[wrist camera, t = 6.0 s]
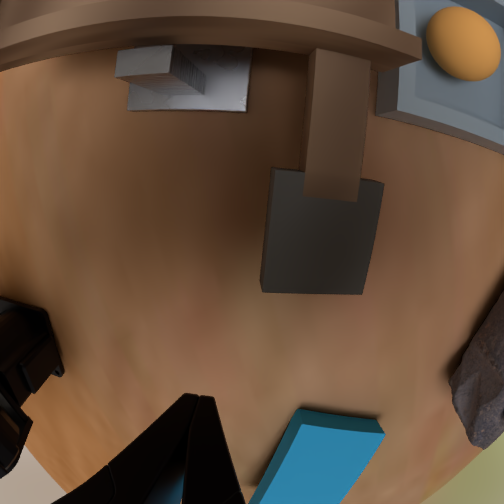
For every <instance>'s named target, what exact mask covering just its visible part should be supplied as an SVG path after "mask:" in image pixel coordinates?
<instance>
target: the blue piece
mask: <svg viewBox="0 0 504 504" xmlns="http://www.w3.org/2000/svg"><path fill="white" fill-rule="evenodd" d="M385 435H386V434H385V433H384V431H383V430H382V428H381V427H380V425H379V423H378V422H377V420H373V419H363V418H355V417H347V416H340V415H333V414H327V413H320V412H315V411H309V410H303V409H297V410H296V412H295V414H294V415H293V417H292V419H291V421H290V423H289V425H288V427H287V429H286V431H285V434H284V436H283V438H282V440H281V442H280V444H279V446H278V448H277V450H276V452H275V454H274V456H273V458H272V460H271V462H270V464H269V466H268V468H267V470H266V472H265V474H264V476H263V478H262V479H261V481H260V483H259V485H258V487H257V489H256V491H255V492H254V494H253V496H252V498H251V500H250V501H249V503H248V504H339V503H340V502H341V501H342V499H343V498H344V497H345V495H346V494H347V493H348V491H349V490H350V489H351V487H352V486H353V484H354V483H355V482H356V480H357V479H358V477H359V476H360V474H361V473H362V472H363V470H364V469H365V467H366V466H367V464H368V462H369V461H370V459H371V458H372V456H373V455H374V453H375V452H376V450H377V448H378V447H379V445H380V443H381V442H382V440H383V438H384V437H385Z"/></svg>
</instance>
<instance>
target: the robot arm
mask: <svg viewBox="0 0 504 504" xmlns="http://www.w3.org/2000/svg"><path fill="white" fill-rule="evenodd" d="M51 374H52V375H55V376H58V377H62V376H63V374H64V370H63V367H62V364H61V361H60V358H59V354H58V351H57V348H56V344H55V341H54V337H53V334H52V330H51V326H50V322H49V318H48V315H47V313H46V312H45V311H44V310H43V309H40V308H37V307H33V306H30V305H26V304H23V303H20V302H16V301H13V300H10V299H7V298H4V297H1V296H0V479H1V478H2V477H4V476H5V475H7V474H8V473H9V472H10V471H12V469H13V468H14V467H15V466H16V464H17V462H18V460H19V458H20V455H21V452H22V449H23V447H24V444H25V442H26V439H27V437H28V434H29V431H30V429H31V426H32V424H33V421H32V420H31V418H30V417H29V416H27V415H26V414H25V413H24V412H23V410H22V409H21V408H20V407H21V406H22V405H23V403H24V402H25V401H26V399H27V398H28V397H29V396H30V394H31V393H33V394H35V393H36V392H37V391H38V390H39V388H40V387H41V386H42V385H43V383H44V382H45V381H46V380H47V378H48V377H49V376H50V375H51ZM181 499H182V504H246V503H245V500H244V497H243V494H242V492H241V488H240V485H239V482H238V479H237V476H236V472H235V469H234V466H233V463H232V459H231V456H230V452H229V449H228V446H227V442H226V439H225V435H224V432H223V428H222V424H221V421H220V417H219V413H218V410H217V406H216V402H215V399H214V397H212V396H205V395H200V396H199V395H197V394H191V393H184V394H183V395H182V396H181V397H180V398H179V399H178V400H177V401H176V402H174V403H173V404H172V405H171V406H170V407H169V408H168V409H167V410H166V411H165V412H164V413H163V414H162V415H161V416H160V417H159V418H158V419H157V420H155V421H154V422H153V423H152V424H151V425H150V426H149V427H148V428H147V429H146V430H145V431H144V432H142V433H141V434H140V435H139V436H138V437H137V438H136V439H135V440H134V441H133V442H131V443H130V444H129V445H128V446H127V447H126V448H125V449H124V450H123V451H121V452H120V453H119V454H118V455H117V456H116V457H115V458H114V459H112V460H111V461H110V462H109V463H108V465H105V466H104V467H103V468H102V469H101V470H100V471H98V472H97V473H96V474H95V475H94V476H92V477H91V478H90V479H88V480H87V481H86V482H85V483H83V484H82V485H80V486H79V487H77V488H76V489H74V490H73V491H71V492H70V493H68V494H66V495H65V496H63V497H61V498H60V499H58V500H57V501H55V502H53V503H51V504H180V502H181Z"/></svg>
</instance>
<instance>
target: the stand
mask: <svg viewBox="0 0 504 504" xmlns="http://www.w3.org/2000/svg"><path fill="white" fill-rule="evenodd" d="M252 53H253V47H244V46H230V45H210V44H162V45H142V46H135V48H134V49H127V50H120V51H118V54H117V61H116V68H115V76H114V77H115V78H118V79H121V80H124V81H127V82H130V87H129V96H128V107H127V111H133V112H137V111H219V112H238V113H247V104H248V94H249V83H250V73H251V63H252Z"/></svg>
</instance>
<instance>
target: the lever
mask: <svg viewBox="0 0 504 504" xmlns="http://www.w3.org/2000/svg"><path fill="white" fill-rule="evenodd" d="M162 44H210V45H230V46H244V47H254V48H264V49H272V50H280V51H287V52H293V53H300V54H306V55H309V64H308V77H307V89H306V101H305V112H304V122H303V133H302V142H301V152H300V162H299V170H295V169H286V168H276V167H271V174H270V185H269V195H268V205H267V214H266V224H265V234H264V244H263V253H262V263H261V272H260V284H261V289H262V292H267V293H298V294H350V295H362V293H363V289H364V285H365V281H366V276H367V272H368V268H369V263H370V259H371V254H372V249H373V245H374V240H375V235H376V230H377V224H378V219H379V213H380V208H381V202H382V195H383V189H384V183H381V182H378V181H375V180H370V179H364V178H360V176H361V169H362V161H363V153H364V144H365V135H366V124H367V113H368V101H369V87H370V69H372V70H375V71H379V72H382V73H383V72H386V71H389V70H392V69H395V68H398V67H401V66H404V65H407V64H410V63H413V62H416V61H419V60H422V39H421V38H419V37H417V36H414V35H412V34H409V33H407V32H404V31H401V30H399V29H396V28H395V0H0V72H1V71H4V70H8V69H11V68H14V67H18V66H22V65H25V64H29V63H33V62H37V61H41V60H45V59H50V58H54V57H59V56H64V55H70V54H75V53H81V52H87V51H94V50H101V49H109V48H119V47H129V46H142V45H162Z"/></svg>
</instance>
